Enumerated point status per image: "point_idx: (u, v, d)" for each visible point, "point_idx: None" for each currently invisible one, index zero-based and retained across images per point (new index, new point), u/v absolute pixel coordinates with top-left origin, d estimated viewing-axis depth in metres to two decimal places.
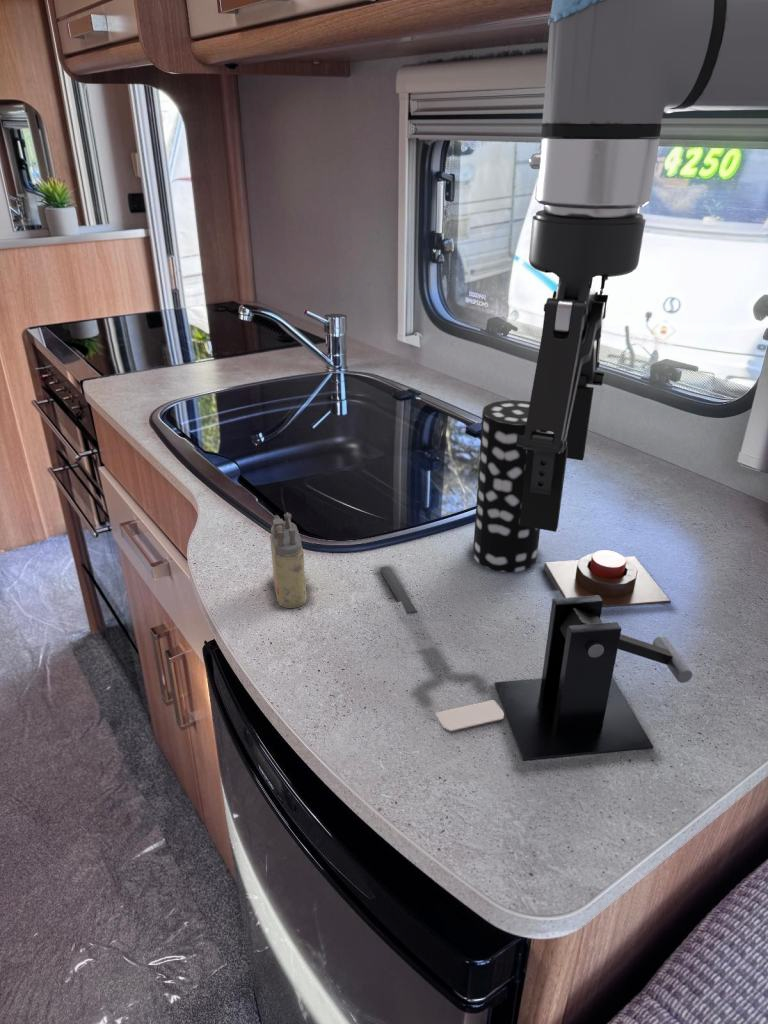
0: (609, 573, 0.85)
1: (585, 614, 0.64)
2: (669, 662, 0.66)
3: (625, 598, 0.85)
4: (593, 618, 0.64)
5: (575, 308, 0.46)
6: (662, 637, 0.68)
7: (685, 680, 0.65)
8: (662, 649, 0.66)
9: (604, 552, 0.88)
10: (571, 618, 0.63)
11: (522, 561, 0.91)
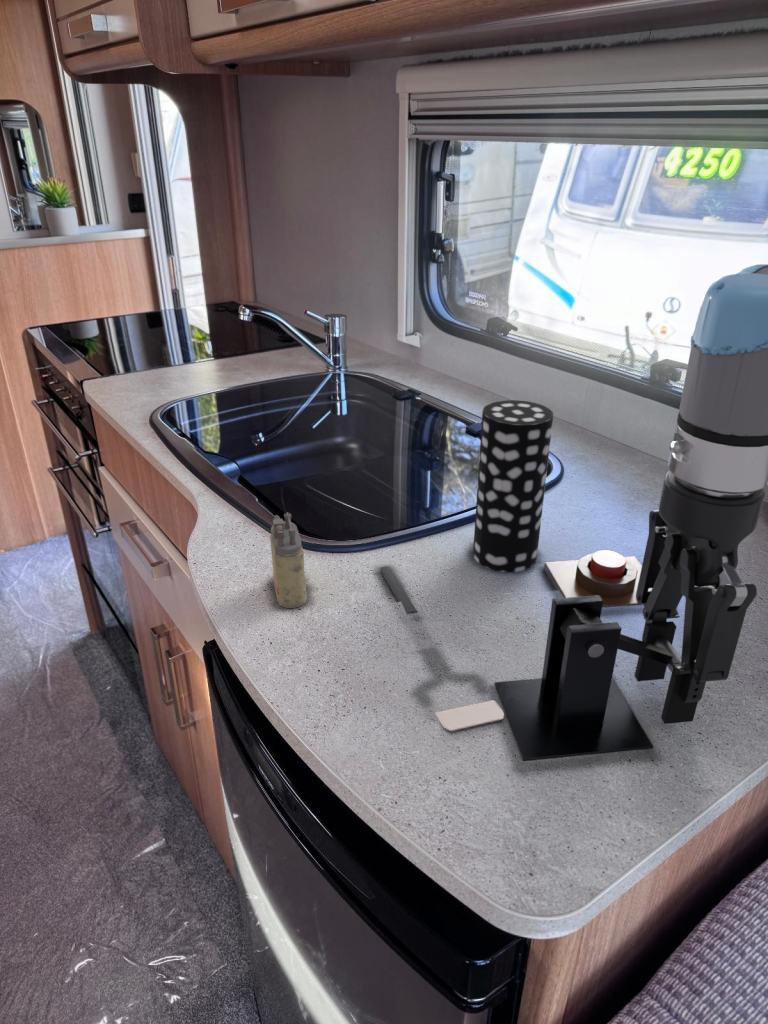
0: (609, 573, 0.85)
1: (585, 614, 0.64)
2: (669, 662, 0.66)
3: (625, 598, 0.85)
4: (593, 618, 0.64)
5: (749, 595, 0.55)
6: (662, 637, 0.68)
7: None
8: (662, 649, 0.66)
9: (604, 552, 0.88)
10: (571, 618, 0.63)
11: (522, 561, 0.91)
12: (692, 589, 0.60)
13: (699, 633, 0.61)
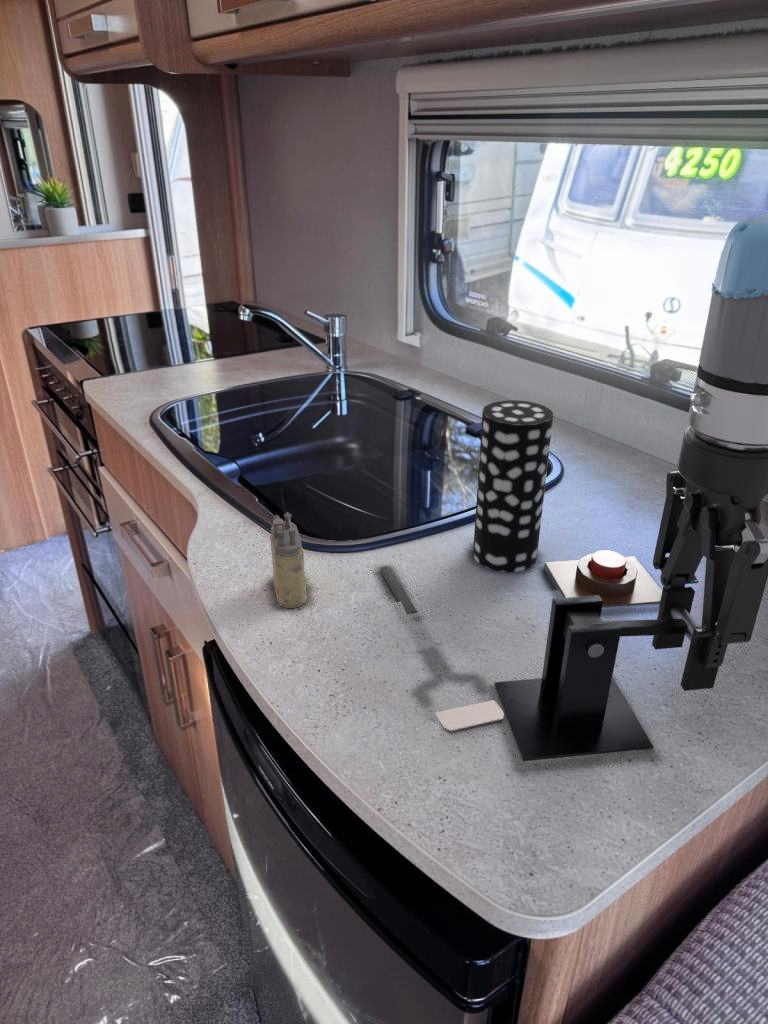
0: (609, 573, 0.85)
1: (580, 614, 0.64)
2: (685, 632, 0.64)
3: (625, 598, 0.85)
4: (589, 616, 0.63)
5: None
6: (676, 605, 0.67)
7: None
8: (675, 620, 0.65)
9: (604, 552, 0.88)
10: (567, 623, 0.64)
11: (522, 561, 0.91)
12: (713, 548, 0.58)
13: (720, 595, 0.59)
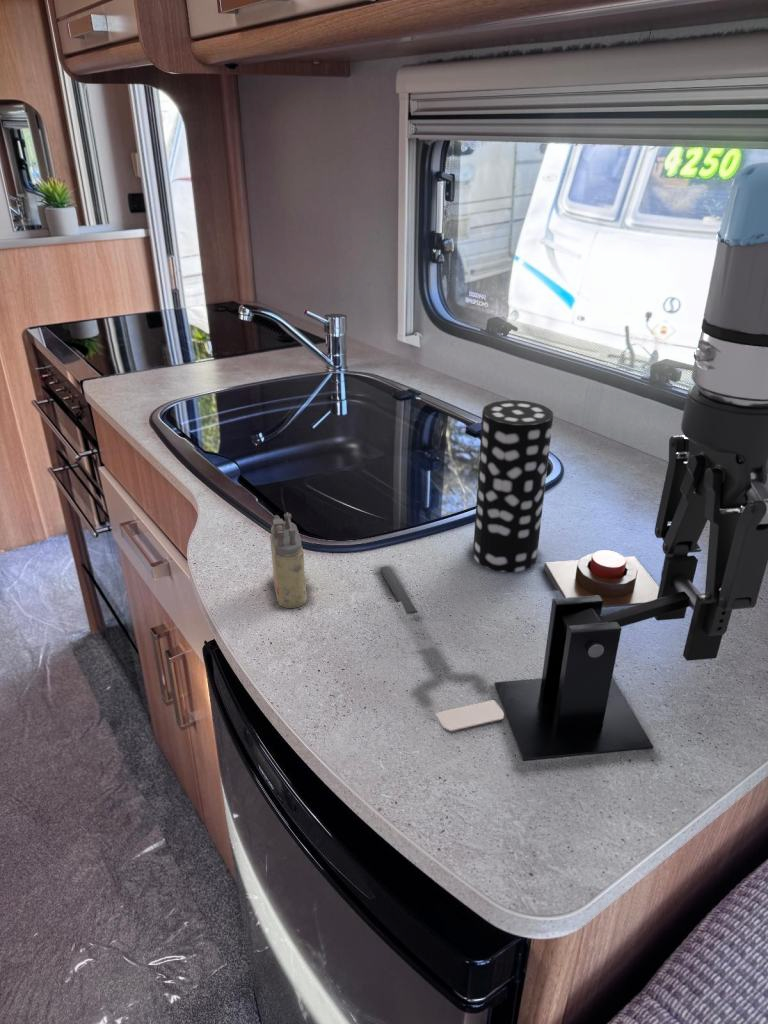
0: (609, 573, 0.85)
1: (576, 616, 0.64)
2: (689, 604, 0.63)
3: (625, 598, 0.85)
4: (584, 616, 0.63)
5: None
6: (677, 577, 0.65)
7: None
8: (676, 595, 0.63)
9: (604, 552, 0.88)
10: (565, 627, 0.64)
11: (522, 561, 0.91)
12: (717, 511, 0.56)
13: (724, 559, 0.57)
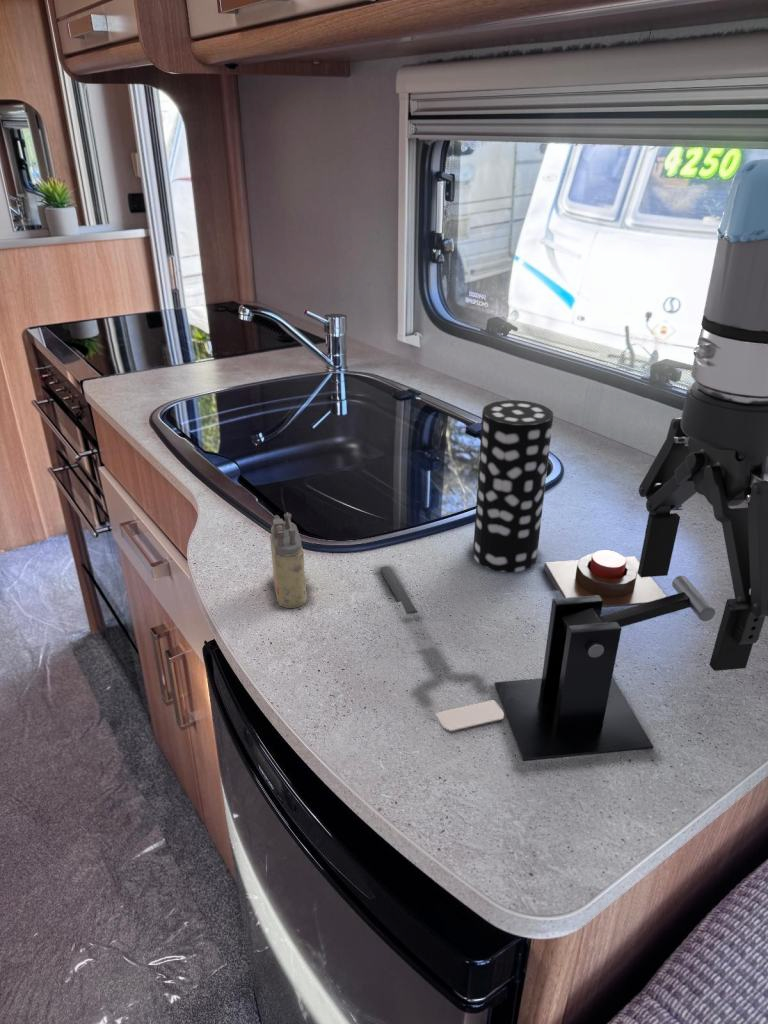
0: (609, 573, 0.85)
1: (576, 616, 0.64)
2: (689, 605, 0.63)
3: (625, 598, 0.85)
4: (584, 616, 0.63)
5: None
6: (677, 578, 0.65)
7: (711, 616, 0.61)
8: (676, 596, 0.63)
9: (604, 552, 0.88)
10: (565, 627, 0.64)
11: (522, 561, 0.91)
12: (725, 505, 0.55)
13: (746, 556, 0.54)
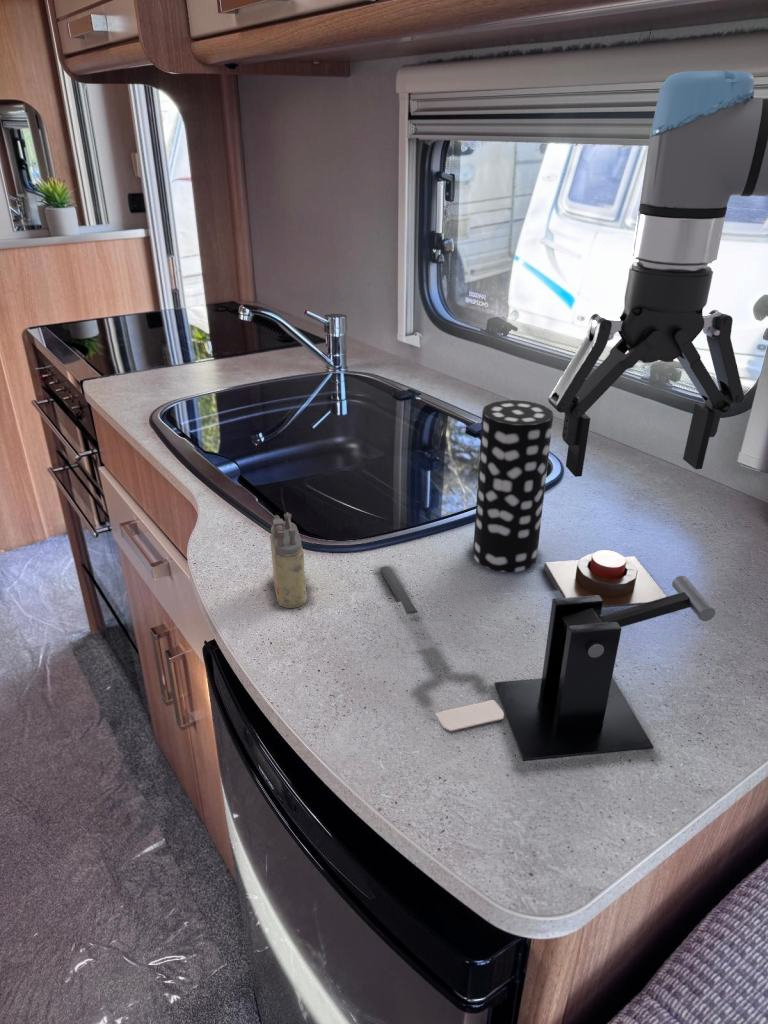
0: (609, 573, 0.85)
1: (576, 616, 0.64)
2: (689, 605, 0.63)
3: (625, 598, 0.85)
4: (584, 616, 0.63)
5: (599, 322, 0.69)
6: (677, 578, 0.65)
7: (711, 616, 0.61)
8: (676, 596, 0.63)
9: (604, 552, 0.88)
10: (565, 627, 0.64)
11: (522, 561, 0.91)
12: (616, 345, 0.73)
13: (591, 378, 0.73)
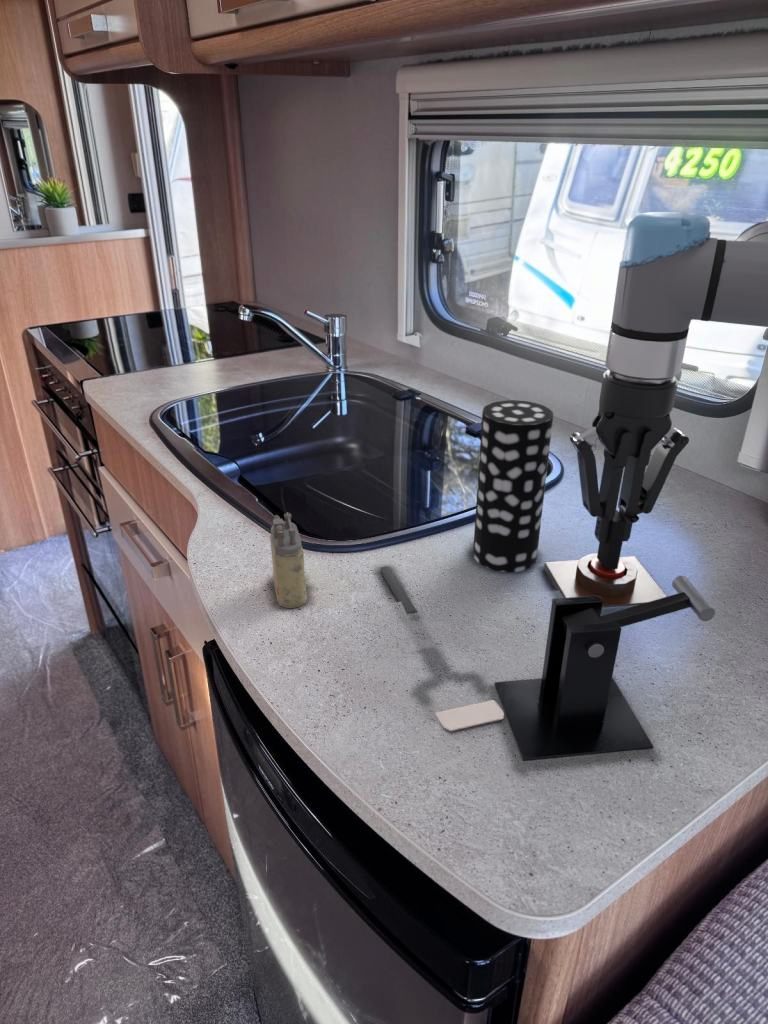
0: None
1: (576, 616, 0.64)
2: (689, 605, 0.63)
3: (625, 598, 0.85)
4: (584, 616, 0.63)
5: (576, 445, 0.78)
6: (677, 578, 0.65)
7: (711, 616, 0.61)
8: (676, 596, 0.63)
9: None
10: (565, 627, 0.64)
11: (522, 561, 0.91)
12: (605, 448, 0.81)
13: (603, 484, 0.82)
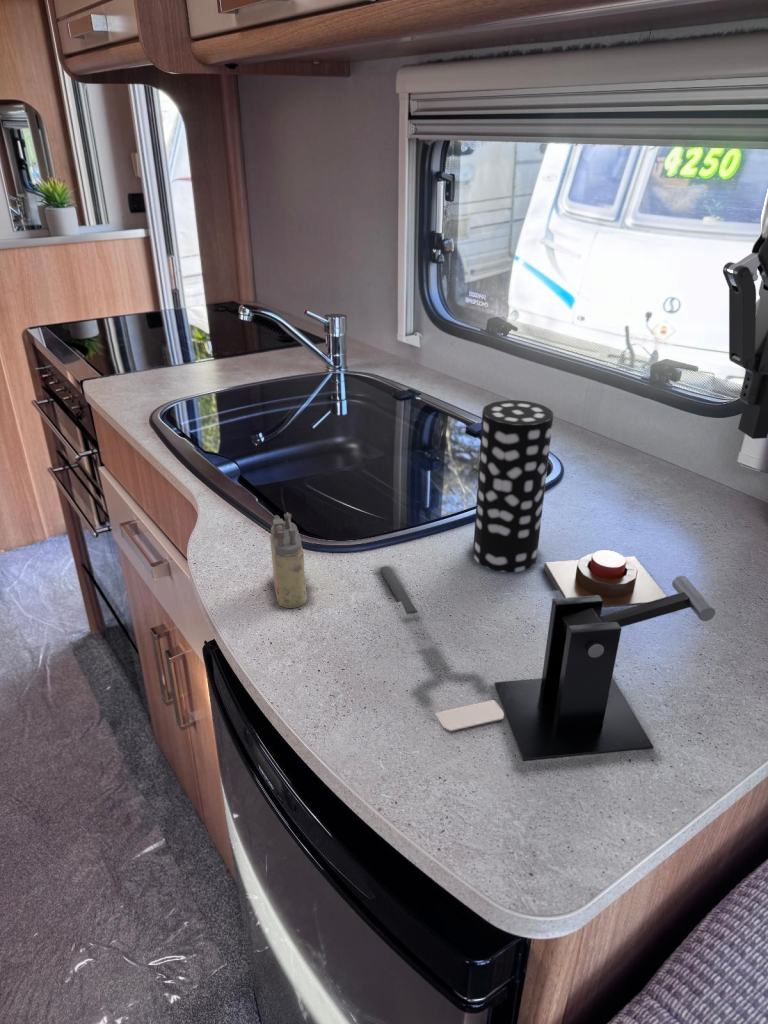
0: (609, 573, 0.85)
1: (576, 616, 0.64)
2: (689, 605, 0.63)
3: (625, 598, 0.85)
4: (584, 616, 0.63)
5: (734, 274, 0.65)
6: (677, 578, 0.65)
7: (711, 616, 0.61)
8: (676, 596, 0.63)
9: (604, 552, 0.88)
10: (565, 627, 0.64)
11: (522, 561, 0.91)
12: (762, 285, 0.68)
13: (757, 330, 0.69)
